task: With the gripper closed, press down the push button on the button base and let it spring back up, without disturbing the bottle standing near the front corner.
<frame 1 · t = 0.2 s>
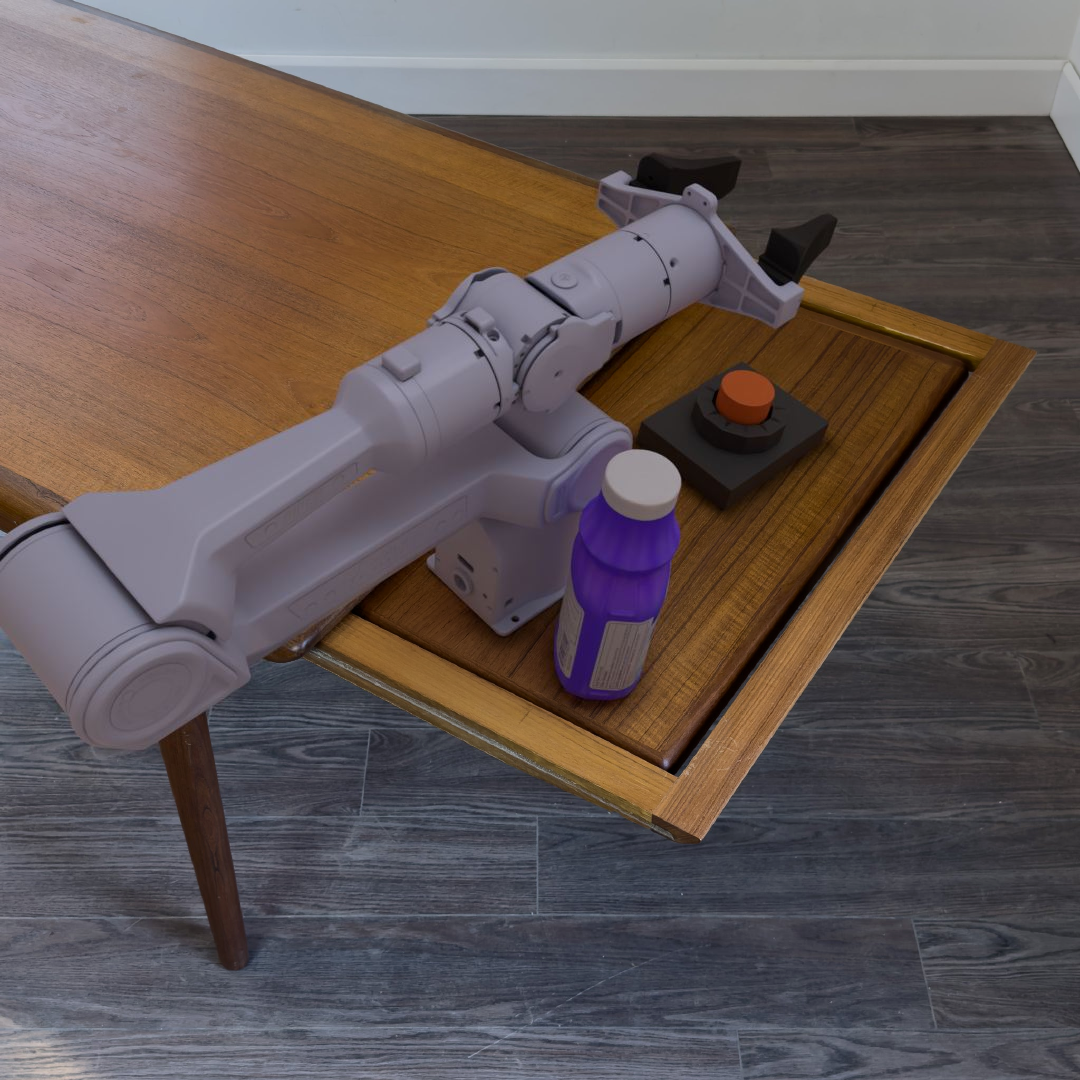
hand: (780, 200, 69), 21 cm above the table, tool horizontal, fingers open, 7 cm apart
button base: (730, 442, 86), on the table
bottle: (594, 664, 71), on the table
push button: (744, 397, 82), point 5 cm above the table, slide at 0.1 cm
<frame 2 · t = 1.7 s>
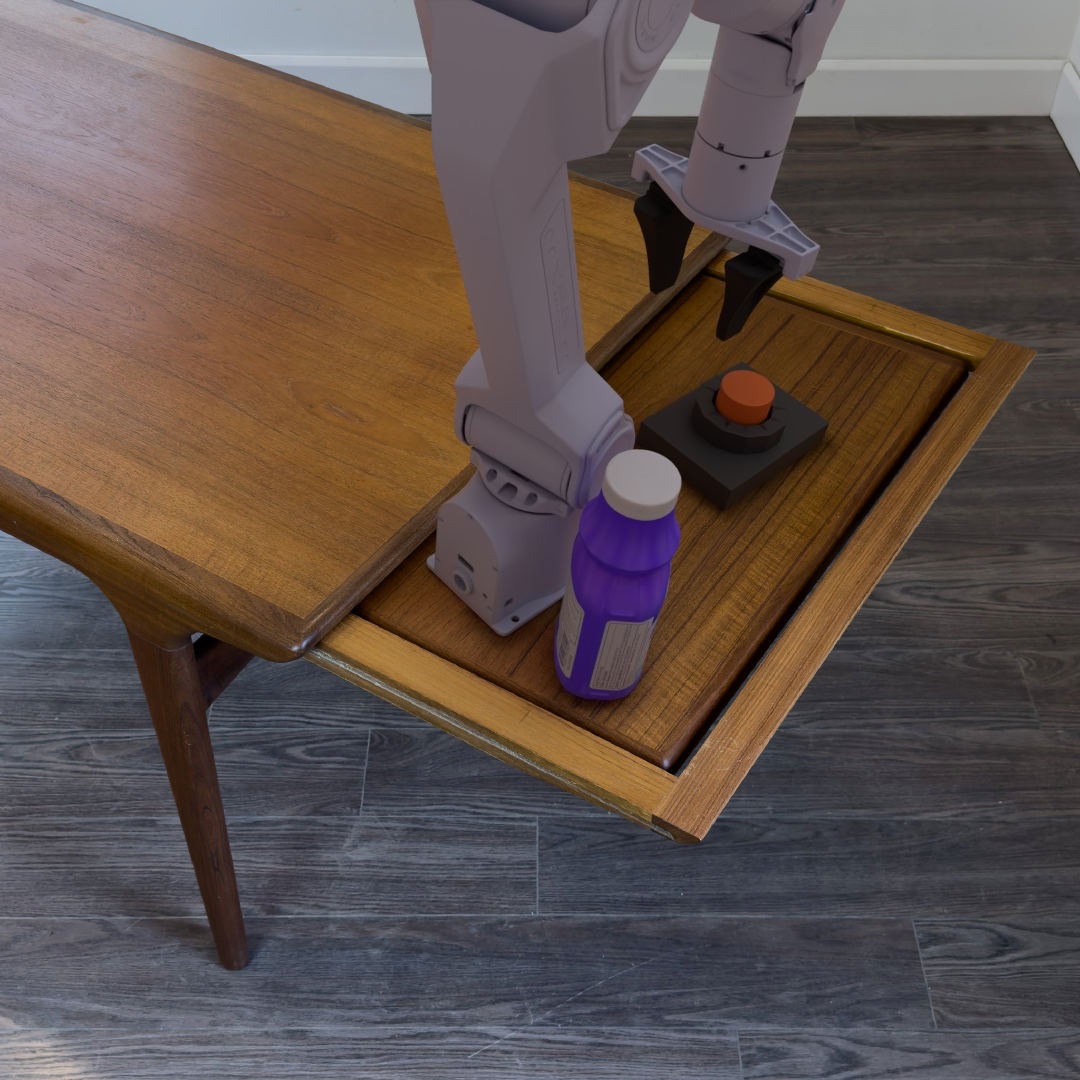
hand: (694, 310, 79), 10 cm above the table, tool pointing down, fingers open, 6 cm apart
nothing on the table moved.
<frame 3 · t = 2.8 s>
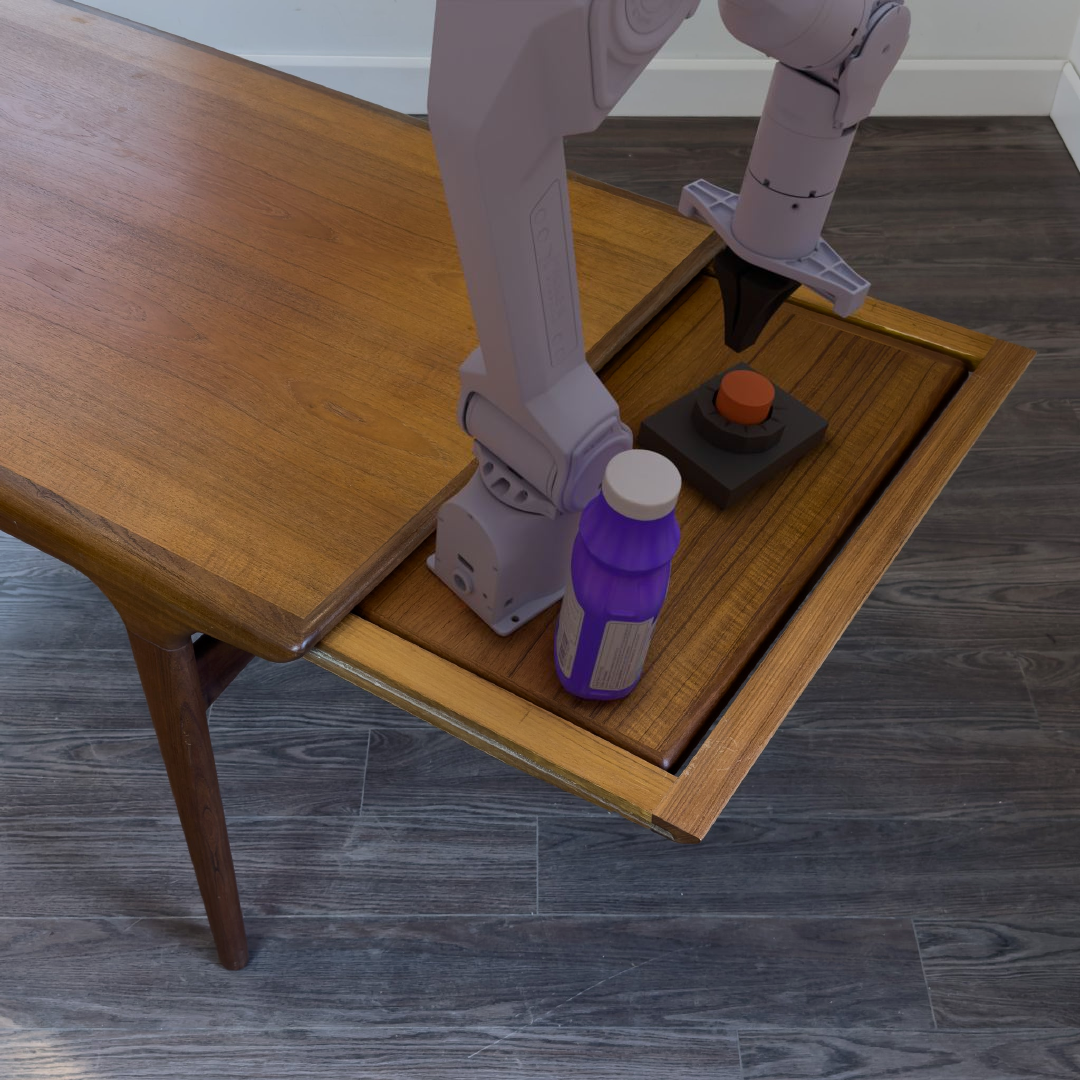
hand: (739, 343, 79), 9 cm above the table, tool pointing down, fingers closed
nothing on the table moved.
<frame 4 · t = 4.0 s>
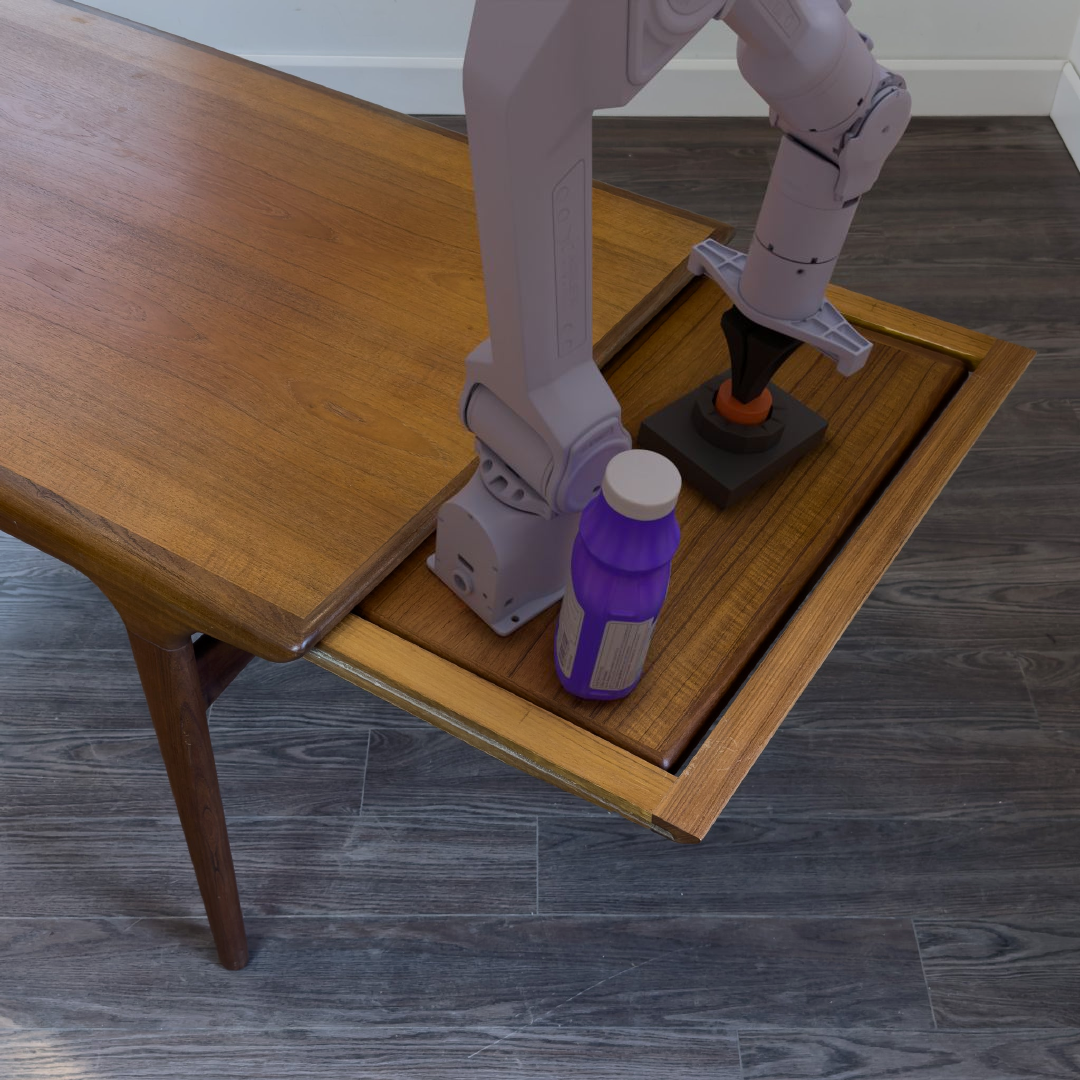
hand: (746, 395, 82), 5 cm above the table, tool pointing down, fingers closed, pressing on push button
push button: (742, 405, 83), point 4 cm above the table, slide at -0.6 cm, touching gripper
everything else where it was.
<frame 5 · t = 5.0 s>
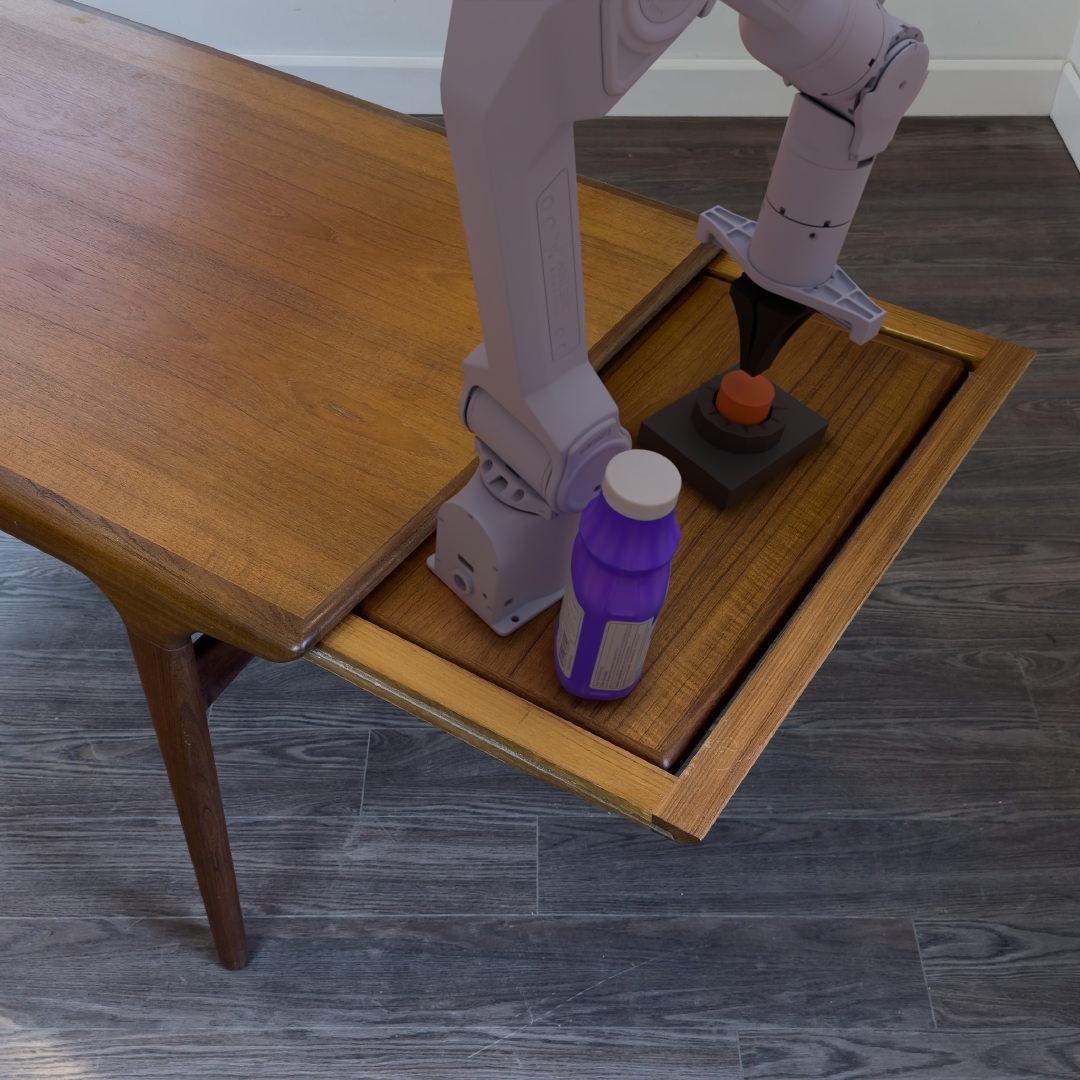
hand: (754, 367, 80), 8 cm above the table, tool pointing down, fingers closed
push button: (744, 397, 82), point 5 cm above the table, slide at 0.1 cm
everything else where it was.
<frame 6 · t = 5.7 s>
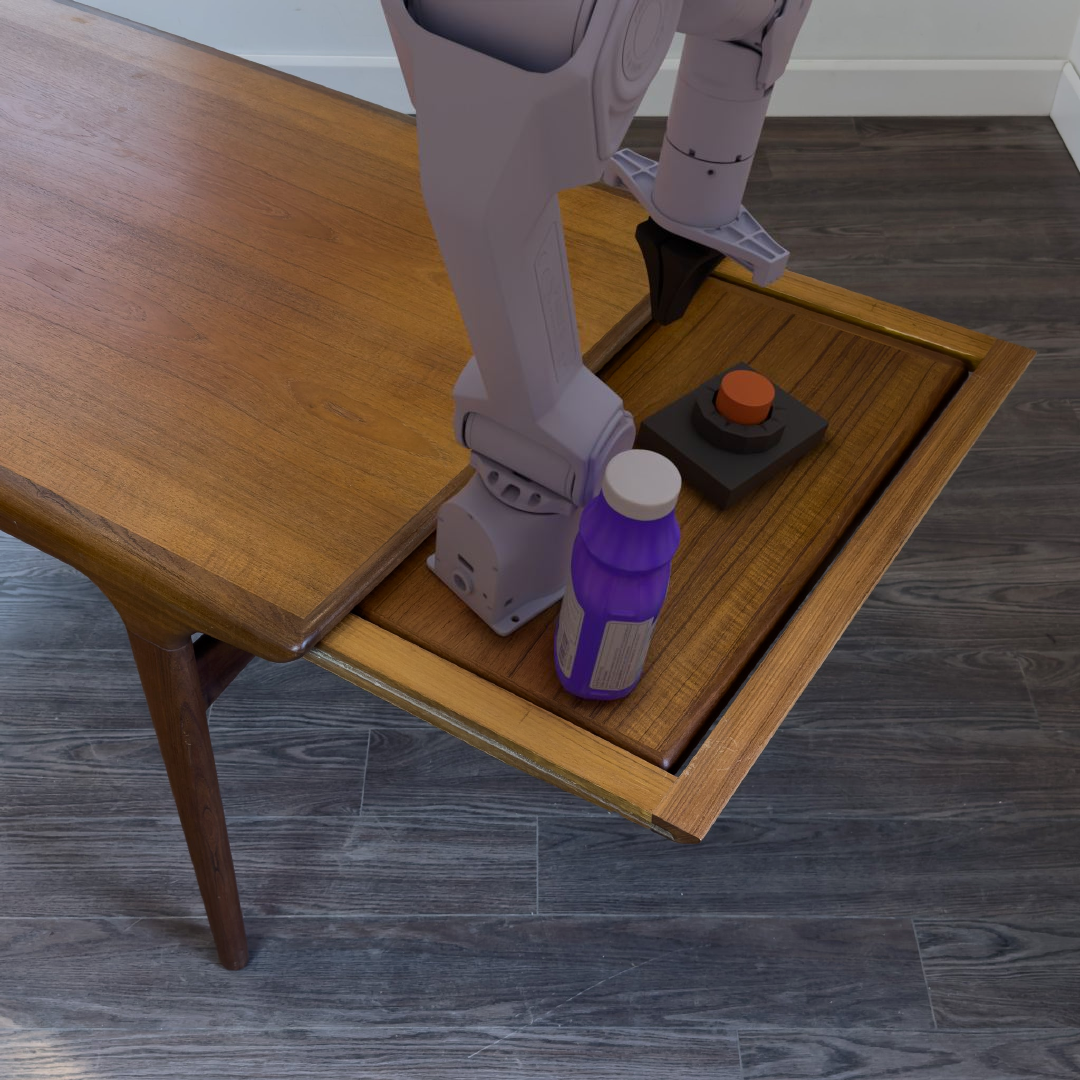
hand: (667, 316, 78), 10 cm above the table, tool pointing down, fingers closed
nothing on the table moved.
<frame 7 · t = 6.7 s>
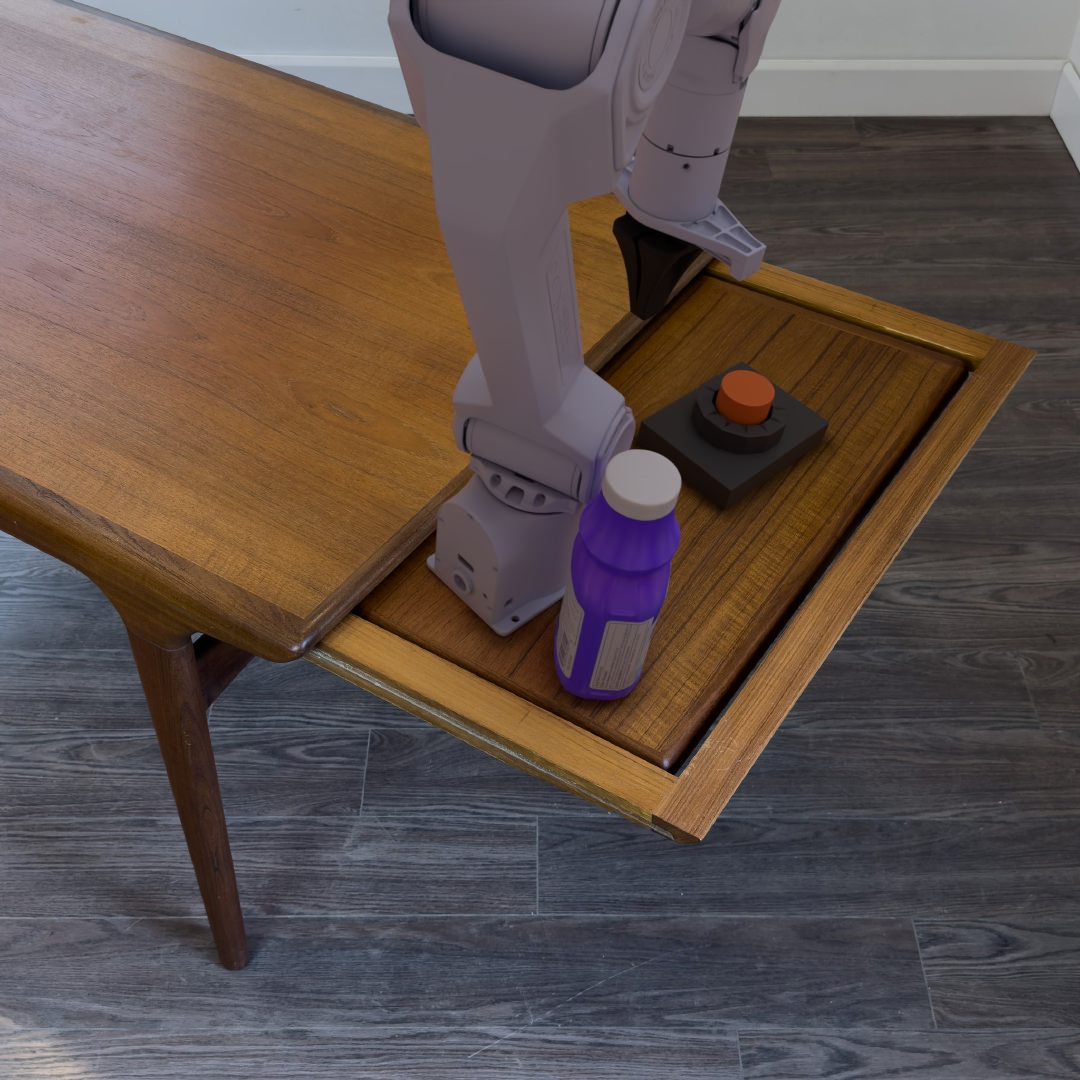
hand: (646, 311, 78), 10 cm above the table, tool pointing down, fingers closed
nothing on the table moved.
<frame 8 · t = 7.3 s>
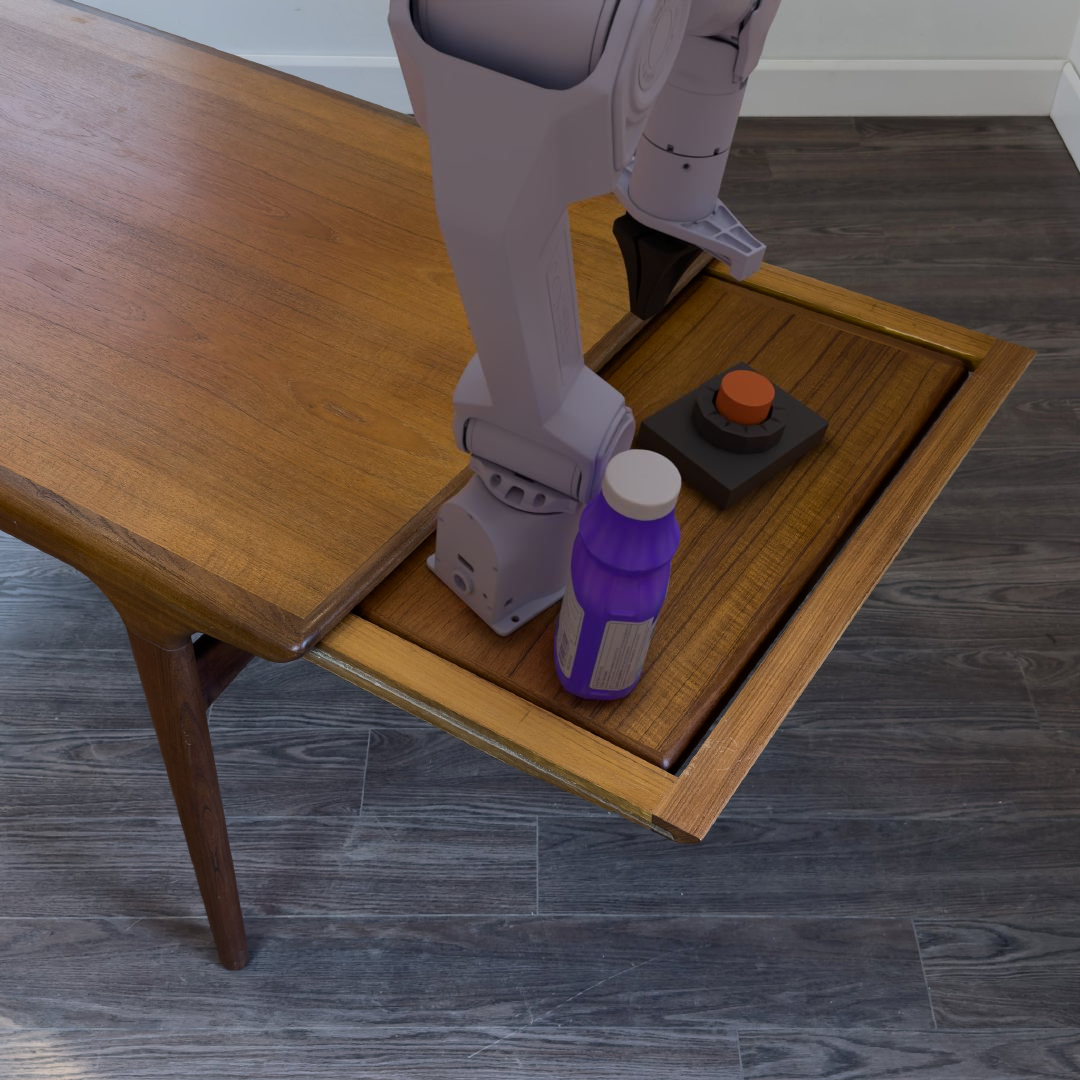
hand: (646, 311, 78), 10 cm above the table, tool pointing down, fingers closed
nothing on the table moved.
at the end: push button pushed in 1.2 cm at the most during the clip, back to where it started at the end; push button slide at 0.1 cm; bottle 0.0 cm from the target spot on the table beside the button base, on the table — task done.
